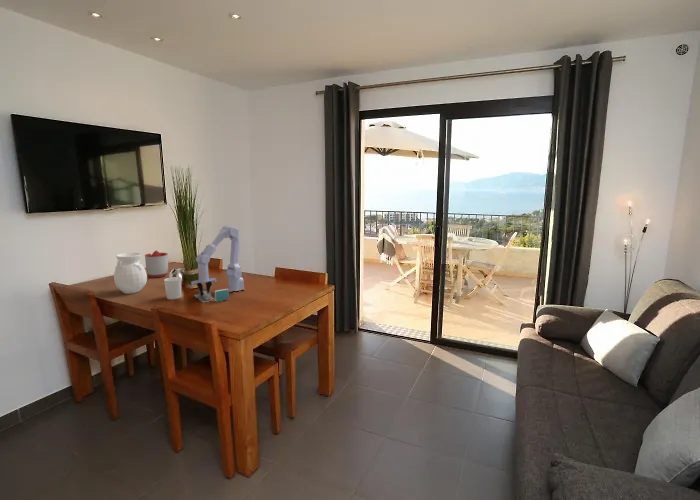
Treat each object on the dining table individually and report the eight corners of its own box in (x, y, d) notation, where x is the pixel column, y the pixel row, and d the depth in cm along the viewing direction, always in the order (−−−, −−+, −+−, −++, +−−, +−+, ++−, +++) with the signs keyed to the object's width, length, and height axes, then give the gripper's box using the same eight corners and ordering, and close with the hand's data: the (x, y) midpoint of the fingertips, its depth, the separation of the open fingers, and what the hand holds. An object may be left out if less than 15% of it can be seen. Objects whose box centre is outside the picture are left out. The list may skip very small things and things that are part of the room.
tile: (228, 299, 227) (227, 288, 226) (229, 300, 226) (228, 289, 225) (215, 301, 222) (214, 290, 221) (216, 302, 221) (215, 291, 220)
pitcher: (133, 296, 229) (129, 258, 224) (108, 294, 232) (104, 256, 228) (154, 288, 247) (151, 252, 242) (131, 286, 250) (127, 251, 246)
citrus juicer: (165, 272, 291) (164, 247, 288) (171, 276, 278) (169, 251, 275) (144, 274, 281) (141, 249, 278) (148, 279, 268) (146, 253, 265)
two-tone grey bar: (203, 293, 234) (203, 288, 234) (211, 299, 224) (210, 293, 223) (199, 294, 232) (198, 288, 232) (206, 299, 222) (205, 294, 221)
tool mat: (206, 293, 237) (206, 292, 237) (216, 300, 224) (216, 300, 224) (194, 295, 233) (194, 295, 232) (202, 303, 219) (202, 302, 219)
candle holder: (163, 300, 223) (162, 281, 221) (167, 295, 232) (165, 277, 230) (181, 299, 226) (179, 280, 223) (183, 294, 235) (182, 276, 233)
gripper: (213, 270, 233) (214, 290, 235) (189, 273, 224) (190, 294, 226) (216, 272, 227) (218, 293, 230) (192, 275, 218) (194, 297, 221)
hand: (204, 294), depth 228 cm, fingers closed on two-tone grey bar, 3 cm apart
